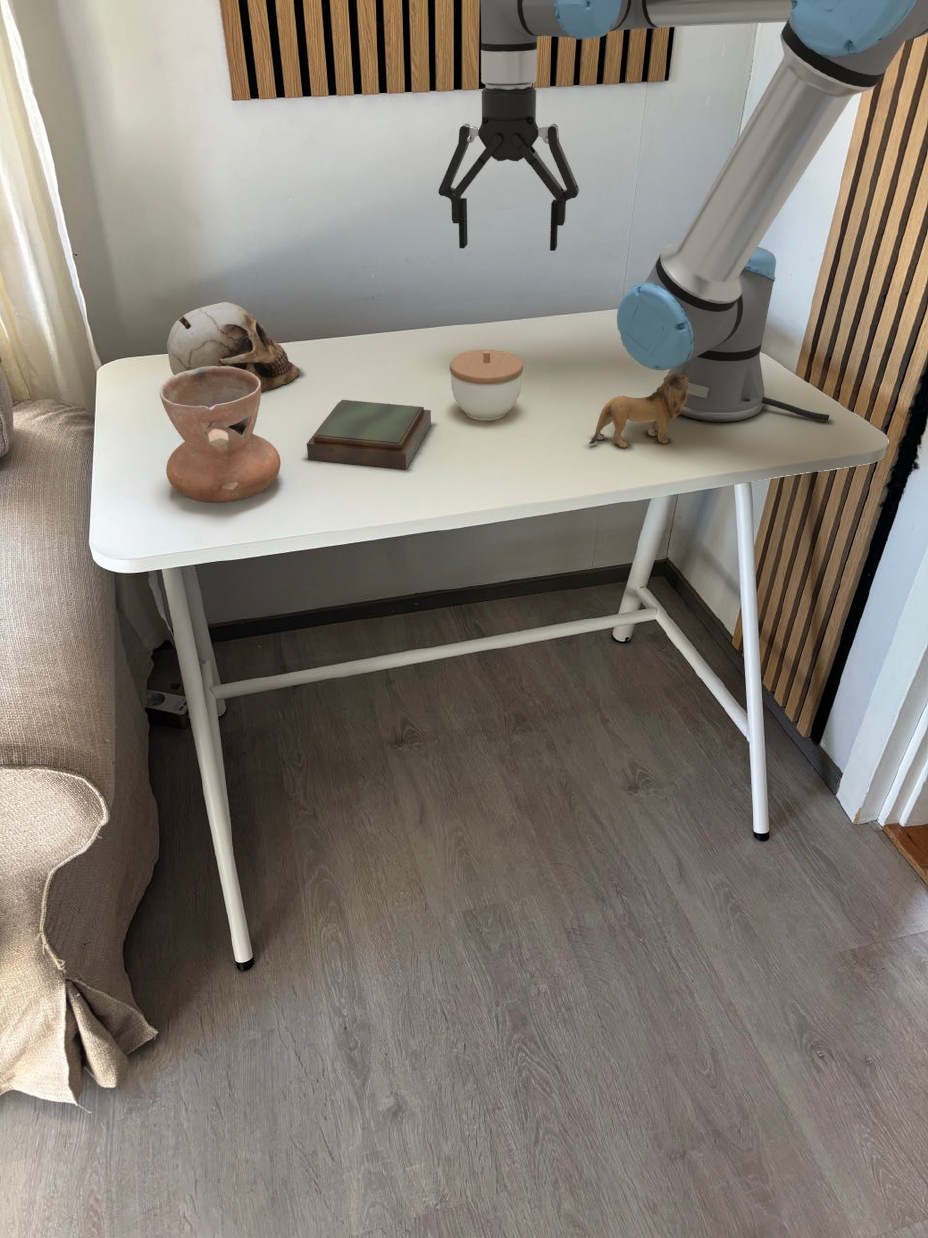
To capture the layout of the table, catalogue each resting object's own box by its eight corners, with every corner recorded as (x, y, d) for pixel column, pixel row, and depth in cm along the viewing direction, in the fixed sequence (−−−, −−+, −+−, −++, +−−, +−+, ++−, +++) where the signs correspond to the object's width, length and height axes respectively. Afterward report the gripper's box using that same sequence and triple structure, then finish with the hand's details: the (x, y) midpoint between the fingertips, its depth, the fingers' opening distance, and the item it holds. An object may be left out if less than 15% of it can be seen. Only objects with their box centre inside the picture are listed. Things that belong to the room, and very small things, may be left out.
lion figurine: (672, 424, 141) (680, 365, 136) (691, 439, 137) (700, 379, 132) (581, 439, 137) (586, 379, 132) (597, 456, 133) (603, 394, 128)
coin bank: (308, 370, 157) (291, 290, 148) (243, 421, 146) (221, 338, 137) (233, 356, 163) (213, 279, 155) (165, 404, 152) (139, 324, 144)
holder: (431, 425, 141) (430, 404, 139) (406, 469, 130) (405, 447, 128) (340, 416, 144) (338, 395, 142) (308, 459, 133) (305, 437, 131)
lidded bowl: (444, 425, 141) (443, 363, 135) (456, 395, 150) (456, 336, 144) (517, 430, 140) (519, 368, 134) (525, 399, 148) (527, 340, 142)
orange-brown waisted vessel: (290, 511, 121) (276, 405, 113) (171, 526, 119) (149, 419, 110) (275, 448, 135) (262, 350, 127) (169, 460, 133) (149, 361, 124)
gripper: (602, 82, 133) (593, 243, 145) (426, 82, 137) (432, 239, 149) (598, 88, 127) (589, 255, 139) (413, 88, 131) (421, 251, 143)
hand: (508, 247), depth 144 cm, fingers open, 13 cm apart
